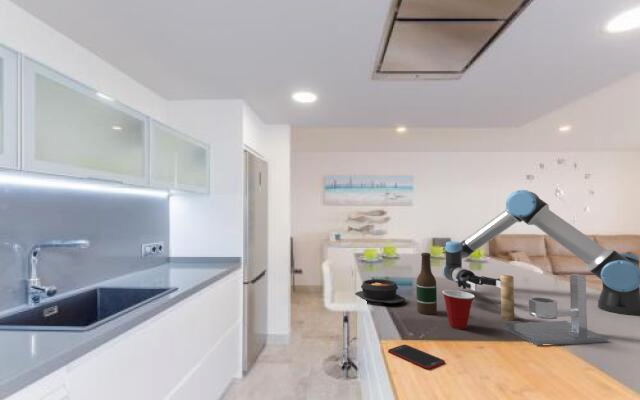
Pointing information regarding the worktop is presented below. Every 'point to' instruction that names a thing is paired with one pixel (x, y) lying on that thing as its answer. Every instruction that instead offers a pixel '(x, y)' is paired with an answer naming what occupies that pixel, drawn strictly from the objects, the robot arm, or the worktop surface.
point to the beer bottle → (426, 288)
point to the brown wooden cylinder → (507, 297)
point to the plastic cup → (458, 307)
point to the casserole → (379, 291)
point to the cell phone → (416, 357)
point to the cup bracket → (558, 329)
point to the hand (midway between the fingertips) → (491, 287)
